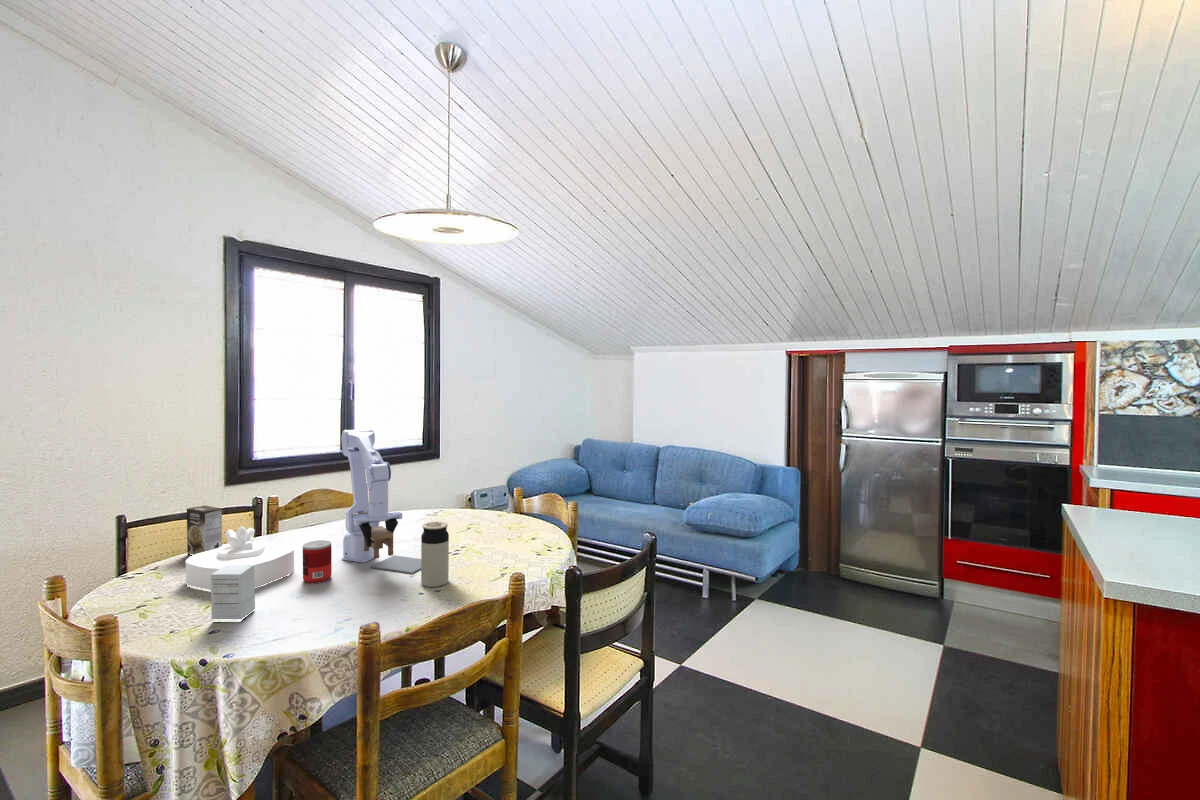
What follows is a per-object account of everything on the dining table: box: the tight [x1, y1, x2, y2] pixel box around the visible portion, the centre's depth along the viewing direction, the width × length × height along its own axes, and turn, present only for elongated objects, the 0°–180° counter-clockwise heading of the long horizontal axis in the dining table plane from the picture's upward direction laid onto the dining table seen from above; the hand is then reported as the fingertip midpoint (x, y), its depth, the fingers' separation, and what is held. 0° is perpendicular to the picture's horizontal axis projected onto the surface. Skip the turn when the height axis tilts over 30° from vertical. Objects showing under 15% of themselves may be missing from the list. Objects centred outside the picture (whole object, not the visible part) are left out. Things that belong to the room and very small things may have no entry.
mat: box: [370, 554, 421, 575], centre depth 192 cm, size 16×12×1 cm
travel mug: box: [420, 520, 450, 588], centre depth 176 cm, size 8×8×18 cm
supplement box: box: [210, 565, 256, 620], centre depth 150 cm, size 7×7×13 cm
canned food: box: [302, 539, 333, 584], centre depth 178 cm, size 8×8×11 cm
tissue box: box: [185, 525, 295, 590], centre depth 179 cm, size 25×25×16 cm
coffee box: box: [186, 504, 223, 555], centre depth 199 cm, size 9×6×16 cm
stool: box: [364, 525, 394, 559], centre depth 183 cm, size 10×6×7 cm, turn 41°
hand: (378, 544), depth 183 cm, fingers closed on stool, 6 cm apart
